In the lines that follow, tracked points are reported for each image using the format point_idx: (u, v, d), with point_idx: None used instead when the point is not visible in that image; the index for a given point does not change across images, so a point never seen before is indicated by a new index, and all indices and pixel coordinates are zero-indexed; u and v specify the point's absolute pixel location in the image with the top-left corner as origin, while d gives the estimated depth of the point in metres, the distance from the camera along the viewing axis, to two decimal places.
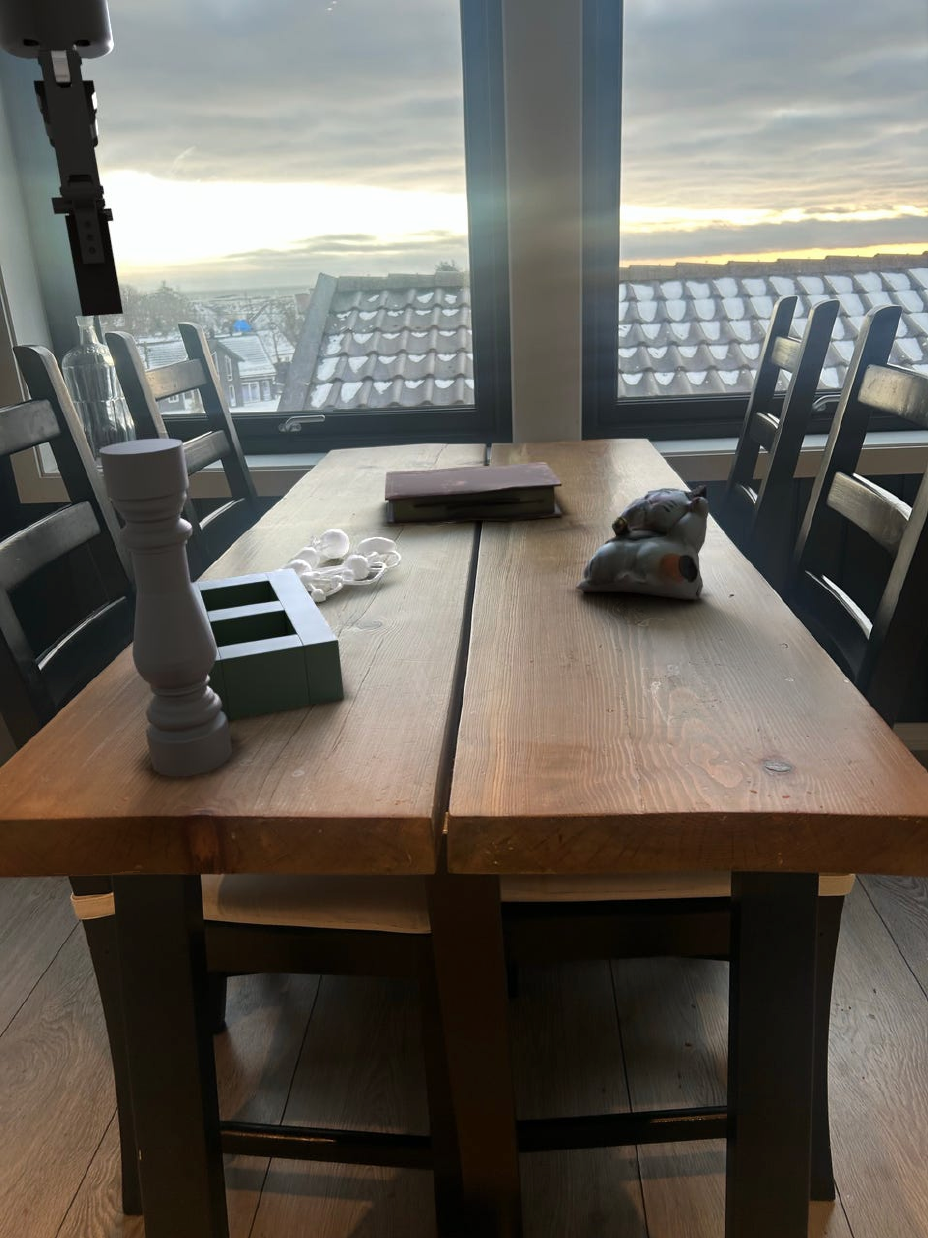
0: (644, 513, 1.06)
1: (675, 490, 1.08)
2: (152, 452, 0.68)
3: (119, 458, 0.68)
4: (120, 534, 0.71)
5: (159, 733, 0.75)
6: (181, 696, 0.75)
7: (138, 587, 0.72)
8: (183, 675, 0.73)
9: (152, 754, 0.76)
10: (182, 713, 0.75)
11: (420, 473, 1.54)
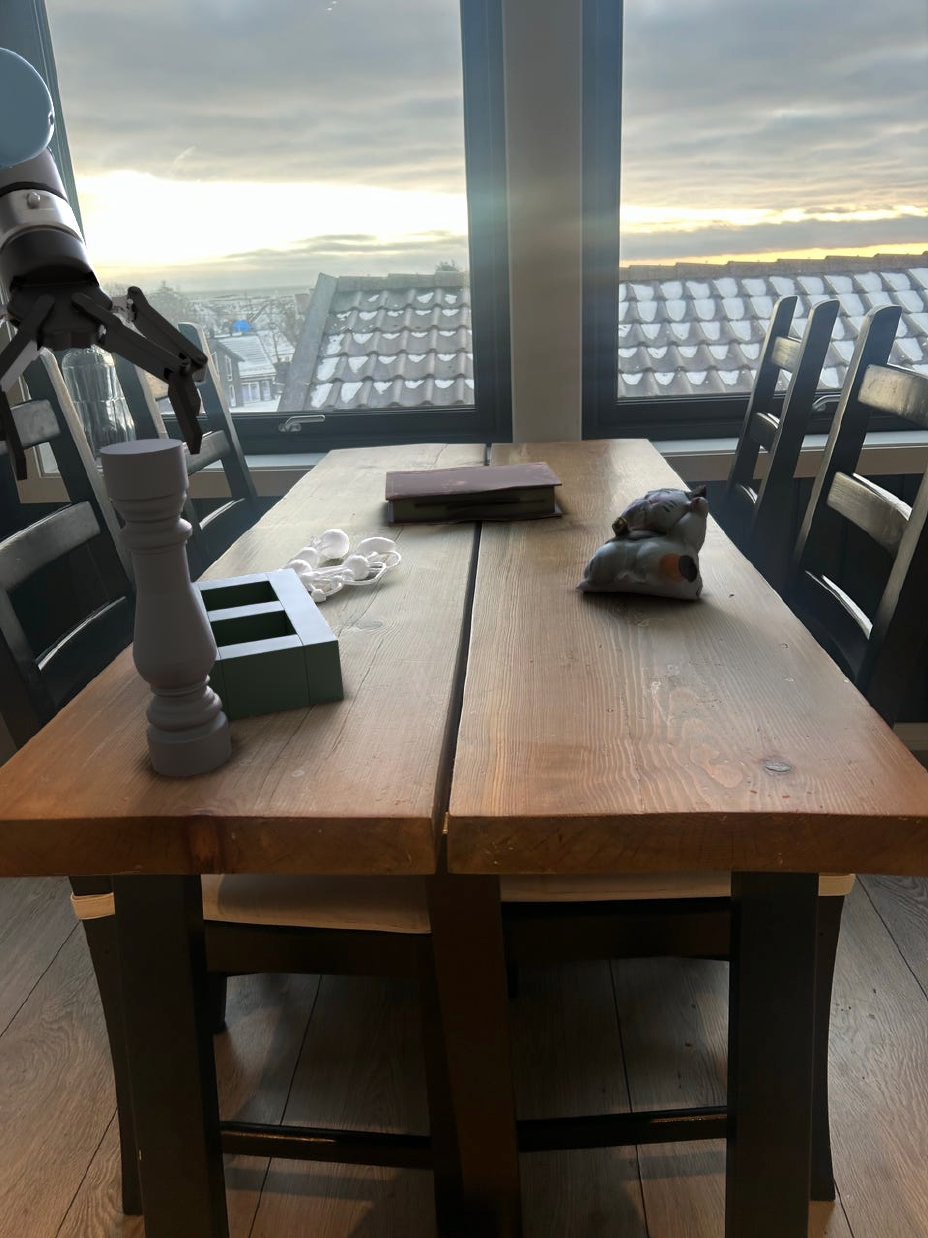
0: (644, 513, 1.06)
1: (675, 490, 1.08)
2: (152, 452, 0.68)
3: (119, 458, 0.68)
4: (120, 534, 0.71)
5: (159, 733, 0.75)
6: (181, 696, 0.75)
7: (138, 587, 0.72)
8: (183, 675, 0.73)
9: (152, 754, 0.76)
10: (182, 713, 0.75)
11: (420, 473, 1.54)
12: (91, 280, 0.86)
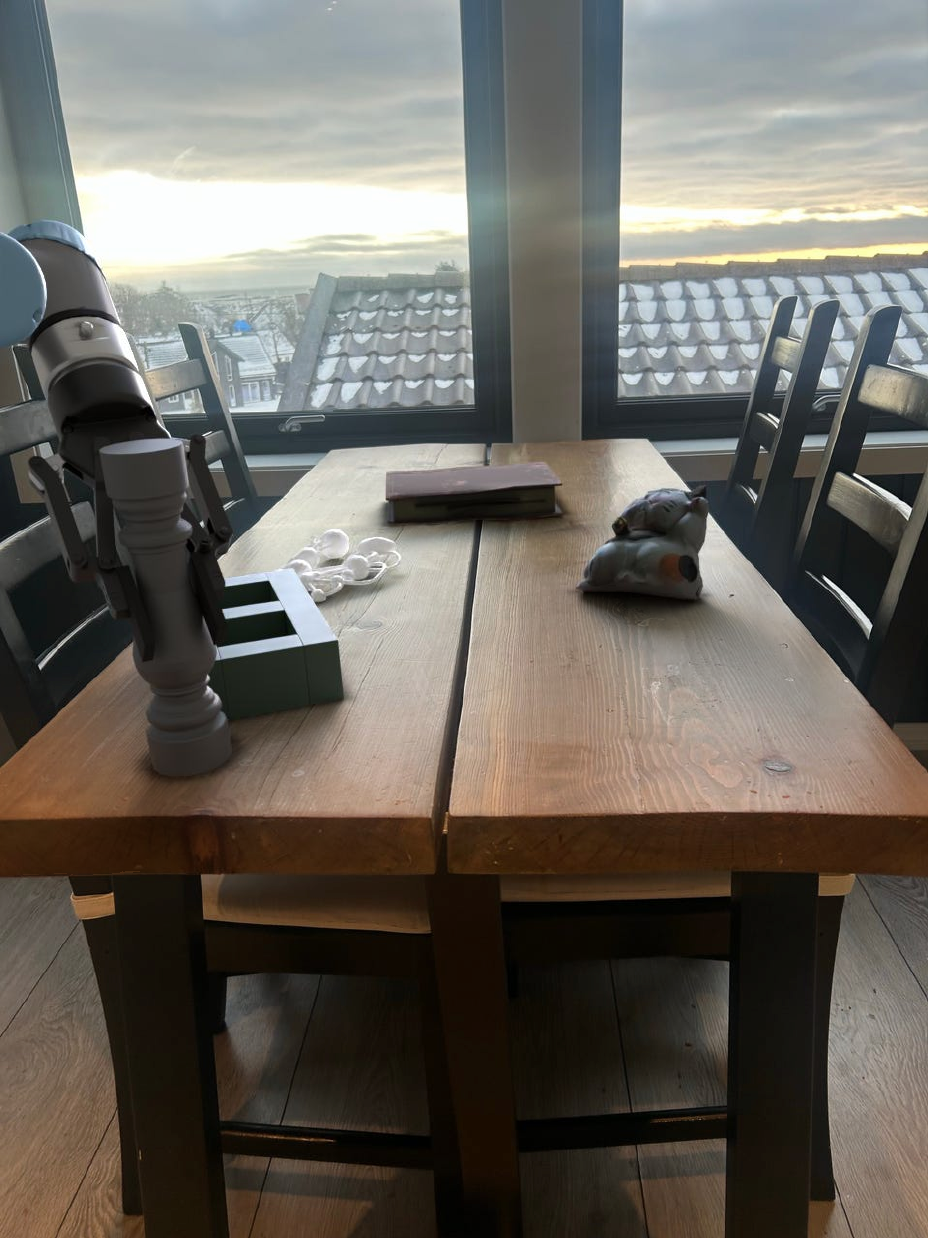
0: (644, 513, 1.06)
1: (675, 490, 1.08)
2: (152, 452, 0.68)
3: (119, 457, 0.68)
4: (120, 534, 0.71)
5: (159, 733, 0.75)
6: (181, 696, 0.75)
7: (138, 587, 0.72)
8: (183, 675, 0.73)
9: (152, 754, 0.76)
10: (182, 713, 0.75)
11: (420, 473, 1.54)
12: (148, 414, 0.79)
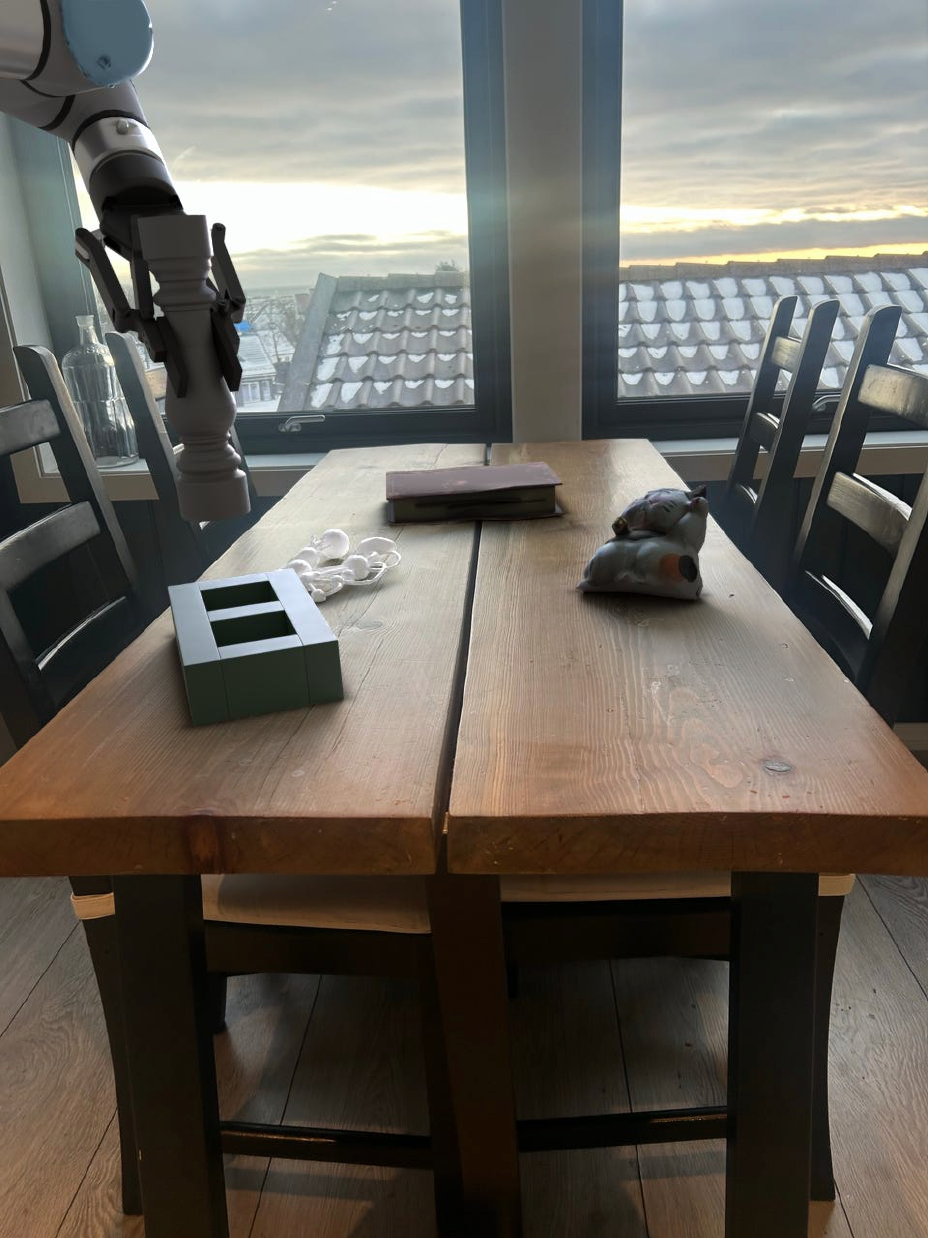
0: (644, 513, 1.06)
1: (675, 490, 1.08)
2: (182, 215, 0.80)
3: (154, 219, 0.80)
4: (155, 295, 0.83)
5: (187, 479, 0.88)
6: (206, 444, 0.87)
7: None
8: (208, 422, 0.85)
9: (181, 499, 0.88)
10: (207, 458, 0.87)
11: (420, 473, 1.54)
12: (175, 203, 0.91)
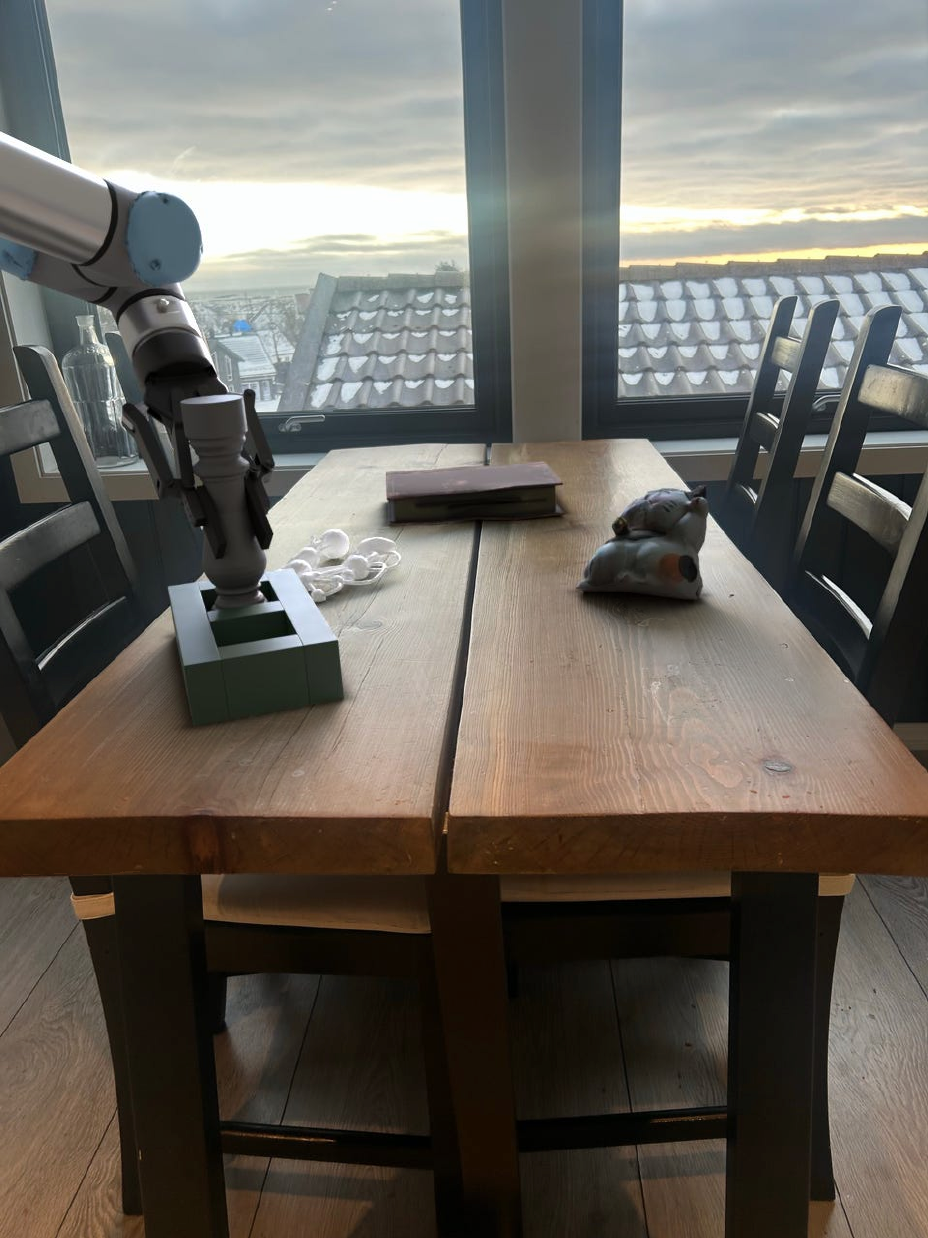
0: (644, 513, 1.06)
1: (675, 490, 1.08)
2: (221, 402, 0.89)
3: (196, 406, 0.89)
4: (195, 467, 0.93)
5: None
6: (239, 595, 0.96)
7: None
8: (241, 577, 0.95)
9: None
10: None
11: (420, 473, 1.55)
12: (210, 372, 1.00)
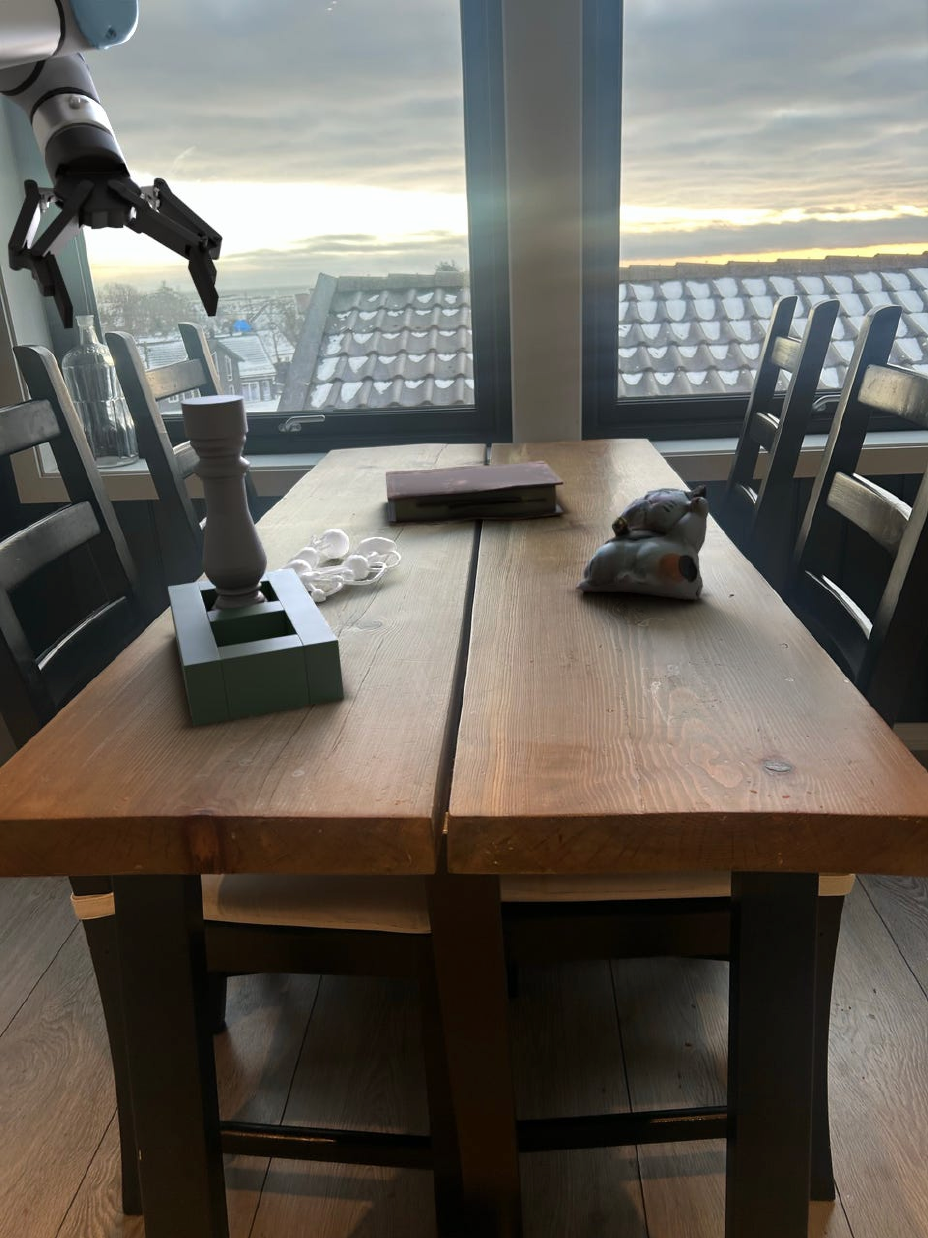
0: (644, 513, 1.06)
1: (675, 490, 1.08)
2: (222, 403, 0.89)
3: (197, 407, 0.89)
4: (195, 467, 0.92)
5: None
6: (239, 596, 0.96)
7: (208, 509, 0.94)
8: (242, 578, 0.95)
9: None
10: None
11: (419, 473, 1.55)
12: (123, 171, 1.01)
